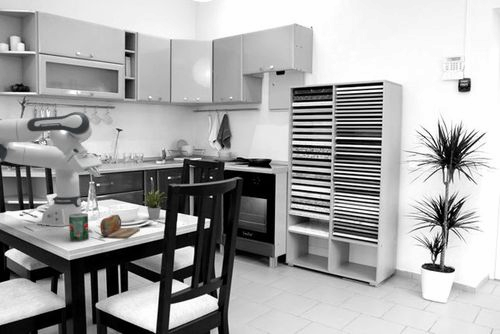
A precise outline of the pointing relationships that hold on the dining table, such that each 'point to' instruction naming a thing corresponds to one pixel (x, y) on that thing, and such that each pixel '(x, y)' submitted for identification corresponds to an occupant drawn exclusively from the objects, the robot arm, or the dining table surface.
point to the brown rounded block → (110, 225)
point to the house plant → (153, 205)
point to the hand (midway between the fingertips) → (98, 175)
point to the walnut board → (124, 233)
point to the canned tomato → (78, 227)
